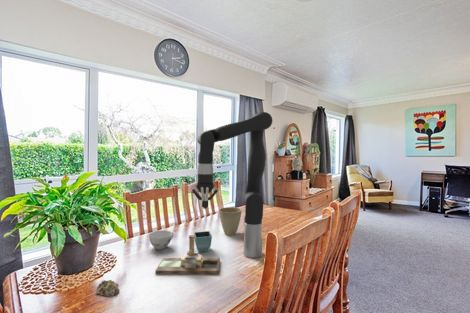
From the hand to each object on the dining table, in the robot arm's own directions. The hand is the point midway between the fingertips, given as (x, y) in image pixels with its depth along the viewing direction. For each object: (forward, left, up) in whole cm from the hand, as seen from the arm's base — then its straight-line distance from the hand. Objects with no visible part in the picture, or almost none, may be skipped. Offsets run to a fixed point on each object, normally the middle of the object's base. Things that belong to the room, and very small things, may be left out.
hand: (204, 208), depth 123 cm
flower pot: (+2, -15, -27) cm, 31 cm away
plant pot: (-13, -42, -27) cm, 52 cm away
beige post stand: (+5, +5, -25) cm, 26 cm away
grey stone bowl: (+25, -19, -27) cm, 42 cm away
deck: (+6, +5, -27) cm, 28 cm away
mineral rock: (+35, +24, -28) cm, 51 cm away
